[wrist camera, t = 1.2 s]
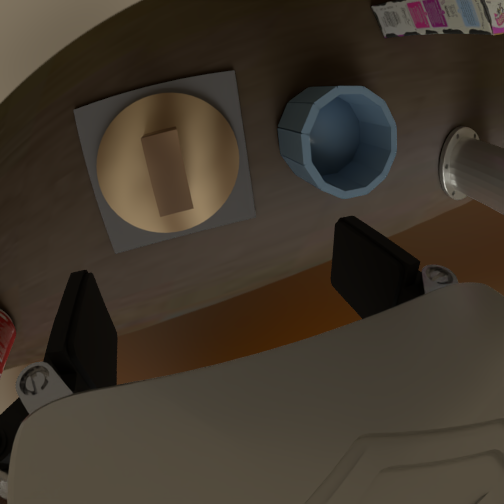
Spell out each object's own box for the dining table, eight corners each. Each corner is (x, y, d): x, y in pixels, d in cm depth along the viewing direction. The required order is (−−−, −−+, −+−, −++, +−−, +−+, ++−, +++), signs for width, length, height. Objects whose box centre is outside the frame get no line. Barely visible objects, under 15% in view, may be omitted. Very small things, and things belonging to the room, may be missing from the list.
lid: (225, 80, 25) (237, 76, 21) (246, 210, 32) (259, 229, 28) (84, 116, 23) (69, 118, 19) (120, 243, 30) (115, 266, 26)
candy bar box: (384, 40, 27) (494, 36, 13) (368, 6, 24) (476, -15, 10) (433, 30, 27) (528, 32, 13) (421, 0, 24) (515, -7, 10)
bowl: (358, 86, 29) (394, 87, 24) (362, 173, 35) (395, 188, 29) (269, 89, 27) (295, 87, 22) (281, 187, 33) (306, 207, 27)
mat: (233, 70, 25) (234, 70, 25) (254, 215, 33) (255, 217, 33) (75, 109, 23) (73, 110, 22) (116, 251, 31) (115, 253, 30)
